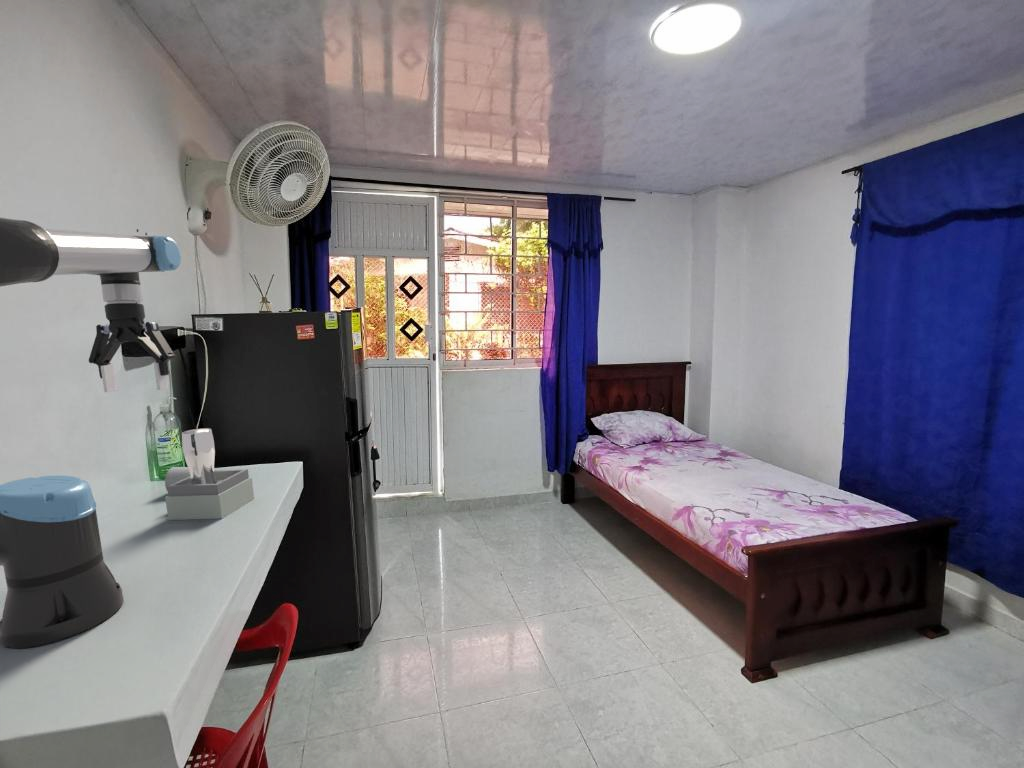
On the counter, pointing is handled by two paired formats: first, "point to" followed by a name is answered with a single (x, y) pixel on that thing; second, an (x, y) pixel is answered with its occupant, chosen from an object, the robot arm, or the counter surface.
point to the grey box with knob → (209, 496)
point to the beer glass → (199, 455)
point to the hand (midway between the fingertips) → (136, 390)
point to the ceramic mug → (176, 475)
